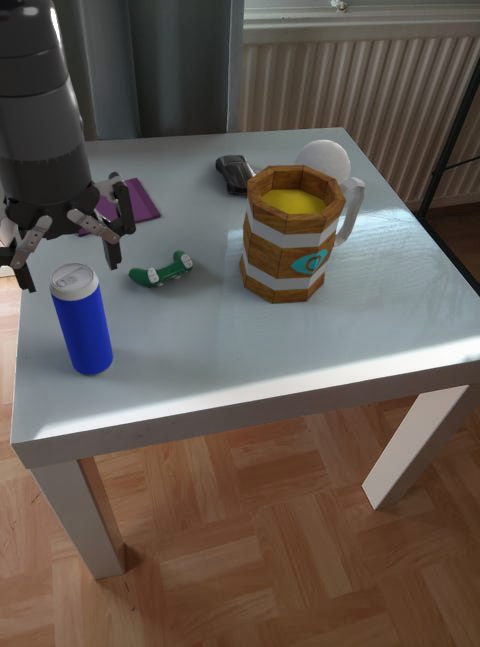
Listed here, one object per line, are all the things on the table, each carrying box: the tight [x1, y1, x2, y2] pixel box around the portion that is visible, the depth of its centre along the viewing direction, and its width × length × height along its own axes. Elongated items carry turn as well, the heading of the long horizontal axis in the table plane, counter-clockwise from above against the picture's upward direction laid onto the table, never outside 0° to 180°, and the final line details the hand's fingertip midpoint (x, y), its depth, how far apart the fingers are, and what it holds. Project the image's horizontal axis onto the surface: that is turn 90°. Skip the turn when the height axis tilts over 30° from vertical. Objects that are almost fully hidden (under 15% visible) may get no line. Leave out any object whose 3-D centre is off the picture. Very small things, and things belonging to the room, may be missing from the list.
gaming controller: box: [127, 249, 194, 289], centre depth 75 cm, size 9×4×6 cm
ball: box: [293, 139, 351, 185], centre depth 90 cm, size 10×10×10 cm
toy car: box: [214, 154, 257, 195], centre depth 93 cm, size 6×12×4 cm, turn 19°
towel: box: [76, 177, 162, 237], centre depth 86 cm, size 14×12×1 cm
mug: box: [238, 164, 366, 304], centre depth 74 cm, size 20×14×15 cm
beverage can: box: [48, 262, 114, 376], centre depth 59 cm, size 5×5×15 cm
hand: (72, 276), depth 53 cm, fingers open, 8 cm apart
